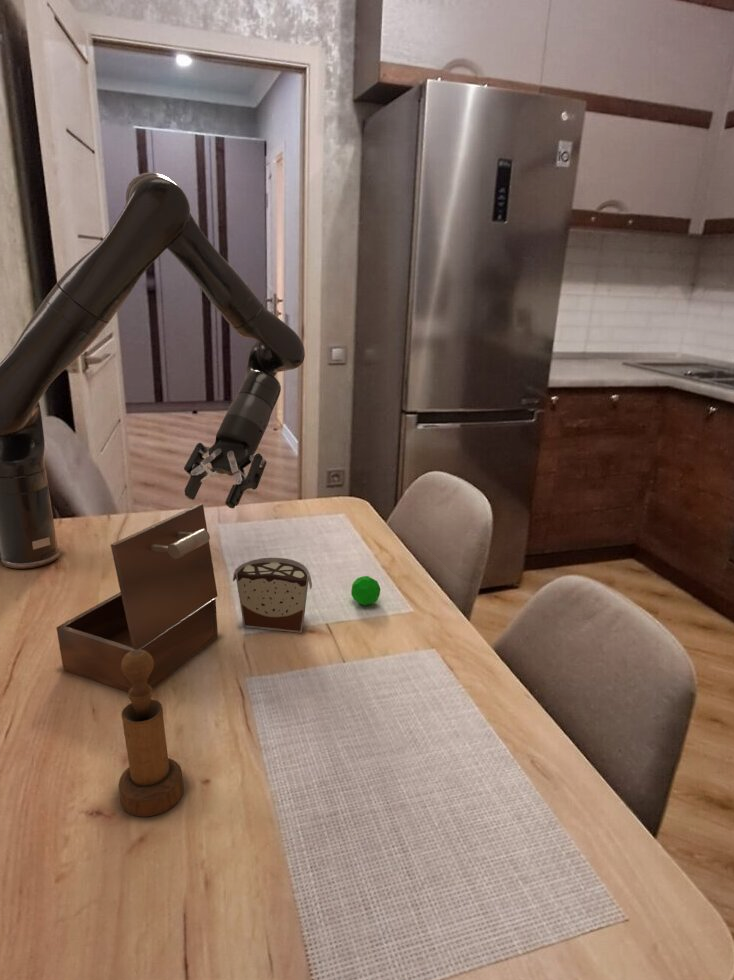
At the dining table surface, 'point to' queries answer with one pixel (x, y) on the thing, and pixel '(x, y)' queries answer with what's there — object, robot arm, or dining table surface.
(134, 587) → the box lid
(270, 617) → the food container
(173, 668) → the walnut box
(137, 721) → the mortar and pestle
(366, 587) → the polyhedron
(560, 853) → the dining table surface
